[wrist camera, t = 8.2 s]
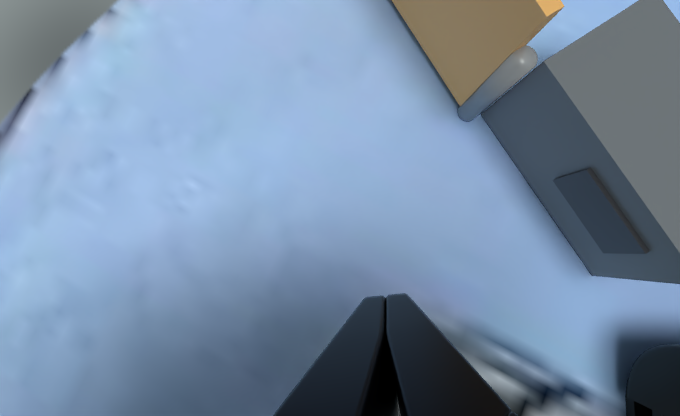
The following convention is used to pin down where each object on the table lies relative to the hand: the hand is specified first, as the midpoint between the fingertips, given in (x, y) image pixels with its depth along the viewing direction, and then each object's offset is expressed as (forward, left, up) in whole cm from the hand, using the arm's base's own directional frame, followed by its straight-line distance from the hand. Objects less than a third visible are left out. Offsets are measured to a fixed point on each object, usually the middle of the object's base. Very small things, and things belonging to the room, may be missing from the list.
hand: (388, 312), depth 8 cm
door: (+10, +8, -12) cm, 17 cm away
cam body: (+13, -2, -12) cm, 18 cm away
